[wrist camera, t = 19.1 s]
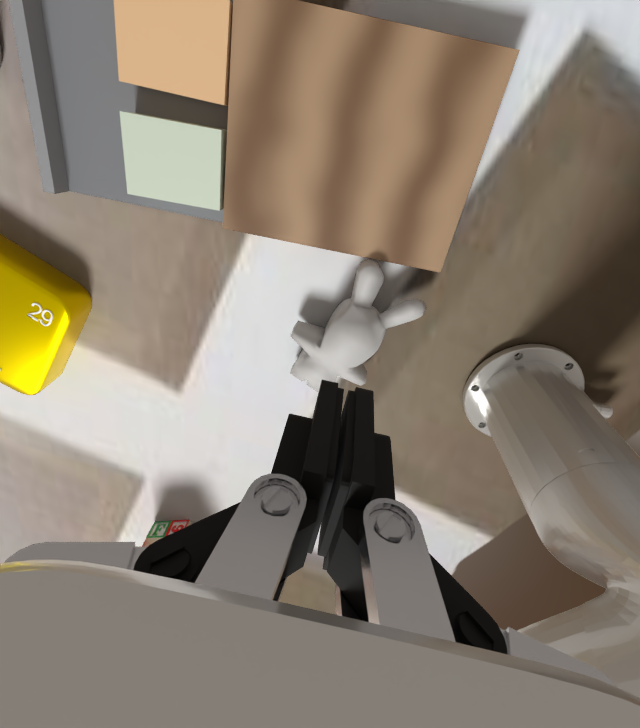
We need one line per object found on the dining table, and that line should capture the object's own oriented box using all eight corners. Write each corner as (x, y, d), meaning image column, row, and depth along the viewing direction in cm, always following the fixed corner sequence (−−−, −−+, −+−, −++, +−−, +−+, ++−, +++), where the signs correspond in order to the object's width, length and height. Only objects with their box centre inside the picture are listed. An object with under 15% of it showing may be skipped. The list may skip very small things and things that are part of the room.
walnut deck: (506, 56, 28) (519, 50, 26) (435, 264, 37) (440, 272, 34) (242, -3, 28) (233, -15, 26) (230, 222, 36) (222, 228, 34)
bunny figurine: (265, 368, 40) (359, 261, 31) (276, 341, 44) (362, 241, 35) (335, 415, 42) (439, 328, 34) (340, 385, 46) (434, 302, 38)
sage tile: (230, 130, 32) (221, 130, 30) (227, 206, 35) (219, 210, 33) (135, 112, 32) (119, 110, 29) (141, 190, 35) (127, 193, 33)
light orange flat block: (239, 10, 28) (229, 0, 26) (233, 107, 31) (224, 105, 29) (130, -16, 28) (111, -29, 25) (135, 84, 31) (118, 80, 28)
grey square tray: (242, -3, 28) (234, -14, 26) (230, 222, 36) (223, 228, 34) (22, -52, 27) (-4, -68, 25) (61, 188, 35) (43, 191, 33)
